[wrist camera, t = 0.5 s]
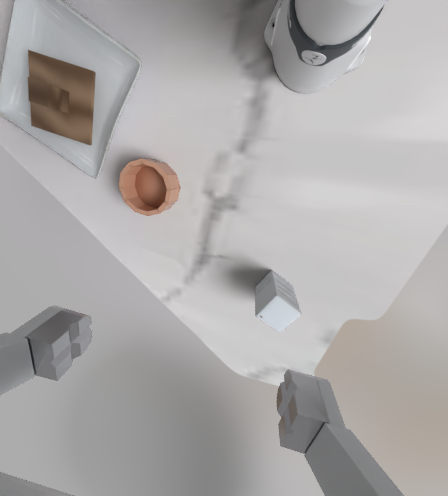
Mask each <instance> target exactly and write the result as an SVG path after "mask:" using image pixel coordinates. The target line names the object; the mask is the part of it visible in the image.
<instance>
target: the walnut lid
mask: <svg viewBox="0 0 448 496" xmlns="http://www.w3.org/2000/svg"><path fill="white" fill-rule="evenodd" d="M28 62H29V77H28V96H29V101H30V108H31V126H33V127H36V128H39V129H42V130H45V131H48V132H51V133H54V134H57V135H60V136H63V137H66V138H69V139H72V140H75V141H78V142H81V143H84V144H87V145H92V131H93V112H94V94H95V76H96V72H94V71H92V70H89V69H86V68H83V67H80V66H77V65H73V64H70V63H67V62H64V61H61V60H58V59H55V58H52V57H49V56H46V55H43V54H40V53H37V52H34V51H30V50H28Z"/></svg>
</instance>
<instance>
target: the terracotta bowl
mask: <svg viewBox="0 0 448 496" xmlns="http://www.w3.org/2000/svg"><path fill="white" fill-rule="evenodd" d="M119 189H120V192H121V194H122V197H123V200H124V202H125V203H126V204H127V205H128V206H129V207H130V208H131V209H132V210H133V211H135V212H137V213H140V214H143V215H146V216H150V215H154V214H159V213H161V212H163V211H165V210H168V209H170V208H171V207H172V205H173V204H174V203H175V202H176V201H177V200H178V196H179V191H180V185H179V181H178V178H177V174H176V173H175V172H174V171H173V170H172V169H171V168H170V167H169V165H168V164H167V163H163V162H160V161H157V160H154V159H138V160H135V161H131V162H128V164H127V165H126V166H125V167H124V169H123V170H122V171H121V173H120V180H119Z"/></svg>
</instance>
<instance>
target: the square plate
mask: <svg viewBox="0 0 448 496" xmlns="http://www.w3.org/2000/svg"><path fill="white" fill-rule="evenodd" d="M28 50H30V51H34V52H37V53H40V54H43V55H46V56H49V57H52V58H55V59H58V60H61V61H64V62H67V63H70V64H73V65H77V66H80V67H83V68H86V69H89V70H92V71H94V72H96V76H95V94H94V112H93V131H92V145H87V144H84V143H81V142H78V141H75V140H72V139H69V138H66V137H63V136H60V135H57V134H54V133H51V132H48V131H45V130H42V129H39V128H36V127H33V126H31V108H30V101H29V96H28V77H29V62H28ZM141 67H142V62H141V60H140V59H139V58H138V57H137V56H136V55H135V54H134V53H132V52H131V51H130V50H128V49H127V48H126V47H124V46H123V45H121V44H120V43H119V42H117V41H116V40H115V39H113V38H112V37H110V36H109V35H108V34H106V33H105V32H103V31H102V30H101V29H99V28H98V27H97V26H95V25H94V24H92V23H91V22H90V21H88V20H87V19H86V18H84V17H83V16H82V15H80V14H79V13H78V12H77V11H75V10H74V9H73V8H71V7H70V6H69V5H67V4H66V3H65V2H64V1H62V0H14V5H13V10H12V16H11V21H10V27H9V32H8V38H7V43H6V49H5V55H4V60H3V66H2V73H1V79H0V115H2V116H3V117H5V118H6V119H8V120H9V121H10V122H12V123H14V124H15V125H17V126H18V127H20V128H21V129H23V130H24V131H26V132H27V133H29V134H30V135H32V136H33V137H35V138H36V139H38V140H39V141H41V142H42V143H44V144H45V145H47V146H48V147H49V148H51V149H52V150H54V151H55V152H57V153H58V154H60V155H61V156H62V157H64V158H65V159H67V160H68V161H70V162H71V163H72V164H74V165H75V166H77V167H78V168H80V169H81V170H83V171H84V172H85V173H87V174H88V175H90V176H92V177H93V178H95V179H96V178H98V176H99V175H100V172H101V169H102V166H103V164H104V160H105V157H106V154H107V151H108V148H109V144H110V141H111V139H112V136H113V133H114V131H115V128H116V125H117V123H118V120H119V118H120V115H121V113H122V111H123V108H124V106H125V104H126V101H127V99H128V97H129V95H130V93H131V91H132V89H133V87H134V85H135V82H136V80H137V78H138V76H139V73H140V70H141Z"/></svg>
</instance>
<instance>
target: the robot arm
mask: <svg viewBox="0 0 448 496" xmlns="http://www.w3.org/2000/svg"><path fill="white" fill-rule="evenodd" d="M387 1H388V0H278V1H277V4H276V6H275V8H274V10H273V12H272V15H271V17H270V19H269V21H268V24H267V26H266V28H265V31H264V40H265V42H266V44H267V45H268V47H269V49H270V50H271V52H272V55H273V61H274V66H275V69H276V72H277V74H278V76H279V78H280V79H281V81H282V82H283V83H284V84H285V85H286V86H287V87H288V88H290V89H292V90H294V91H296V92H300V93H312V92H316V91H319V90H322V89H324V88H325V87H327V86H329V85H330V84H331V83H333V82H334V81H335V80H336V79H337V78H338V77H340V76H341V75H342V74H344V73H347V72H350V71H352V70H354V69H356V68H358V67H359V66H360V64H361V63H362V61H363V59H364V56H365V52H366V48H367V45H368V43H369V41H370V39H371V36H370V34H371V30H372V26H373V25H374V23H375V21H376V20H377V18H378V16H379V14H380V13H381V11H382V9H383V7H384V5H385V3H386V2H387ZM273 24H275V26H274V28H273V27H272V25H273ZM91 323H92V321H91V317H90V316H88V315H85V314H82V313H78V312H75V311H72V310H69V309H65V308H62V307H58V306H51V307H49V308H47V309H46V310H44V311H43V312H41V313H40V314H38V315H37V316H35V317H34V318H32V319H31V320H29V321H28V322H26V323H25V324H24V325H22V326H21V327H19V328H18V329H16V330H15V331H13V332H12V333H3V334H0V396H1V395H2V394H4V393H6V392H8V391H9V390H11V389H13V388H15V387H17V386H19V385H21V384H22V383H24V382H26V381H28V380H30V379H32V378H33V377H35V375H37V376H41V377H45V378H48V379H52V380H56V381H58V380H59V378H60V377H61V376H62V375H63V374H64V373H65V372H66V371H67V370H68V369H69V368H70V367H71V365H72V362H73V359H74V358H76V357H78V356H80V355H82V354H83V353H84V351H85V350H86V349H87V347H88V346H89V344H90V342H91V339H92V331H91V329H90V328H89V325H90V324H91ZM284 379H285V381H284V382H282V383H281V384H280V386H279V388H278V393H277V411H278V413H279V414H280V416H281V420H280V422H279V436H280V446H282V447H285V448H288V449H292V450H294V451H297V452H300V453H304V454H305V457H306V459H307V461H308V463H309V465H310V467H311V469H312V471H313V473H314V475H315V477H316V479H317V481H318V483H319V485H320V487H321V488H322V491H323V493H324V494H325V496H404V495H403V494H402V493H401V491H400V490H399V489H398V488H397V486H396V485H395V484H394V483H393V482H392V480H391V479H390V478H389V477H388V475H387V474H386V473H385V472H384V471H383V469H382V468H381V467H380V466H379V464H378V463H377V462H376V461H375V459H374V458H373V457H372V456H371V455H370V453H369V452H368V451H367V450H366V449H365V447H364V446H363V445H362V444H361V442H360V441H359V440H358V439H357V438H356V436H355V435H354V434H353V432H352V431H351V430H349V429H346V427H345V424H344V421H343V418H342V416H341V413H340V410H339V407H338V404H337V401H336V399H335V396H334V393H333V390H332V387H331V385H330V382H329V381H328V380H326V379H323V378H319V377H315V376H312V375H308V374H304V373H300V372H296V371H293V370H289V369H288V370H287V371H286V373H285V375H284ZM0 496H73V495H70V494H67V493H64V492H61V491H58V490H54V489H51V488H48V487H45V486H42V485H39V484H36V483H33V482H30V481H27V480H23V479H20V478H17V477H14V476H11V475H8V474H5V473H2V472H0Z"/></svg>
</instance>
